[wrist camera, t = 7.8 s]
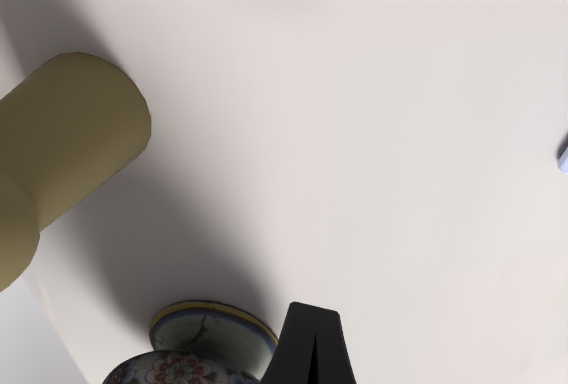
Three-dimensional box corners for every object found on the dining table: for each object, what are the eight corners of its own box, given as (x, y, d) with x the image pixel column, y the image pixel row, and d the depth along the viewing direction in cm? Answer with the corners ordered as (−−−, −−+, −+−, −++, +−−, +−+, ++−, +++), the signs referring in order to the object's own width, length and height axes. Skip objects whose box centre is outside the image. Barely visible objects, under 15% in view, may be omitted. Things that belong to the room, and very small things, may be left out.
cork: (18, 46, 20) (-267, 167, 11) (141, 57, 19) (-48, 195, 10) (53, 158, 23) (-139, 320, 14) (158, 169, 22) (29, 346, 13)
